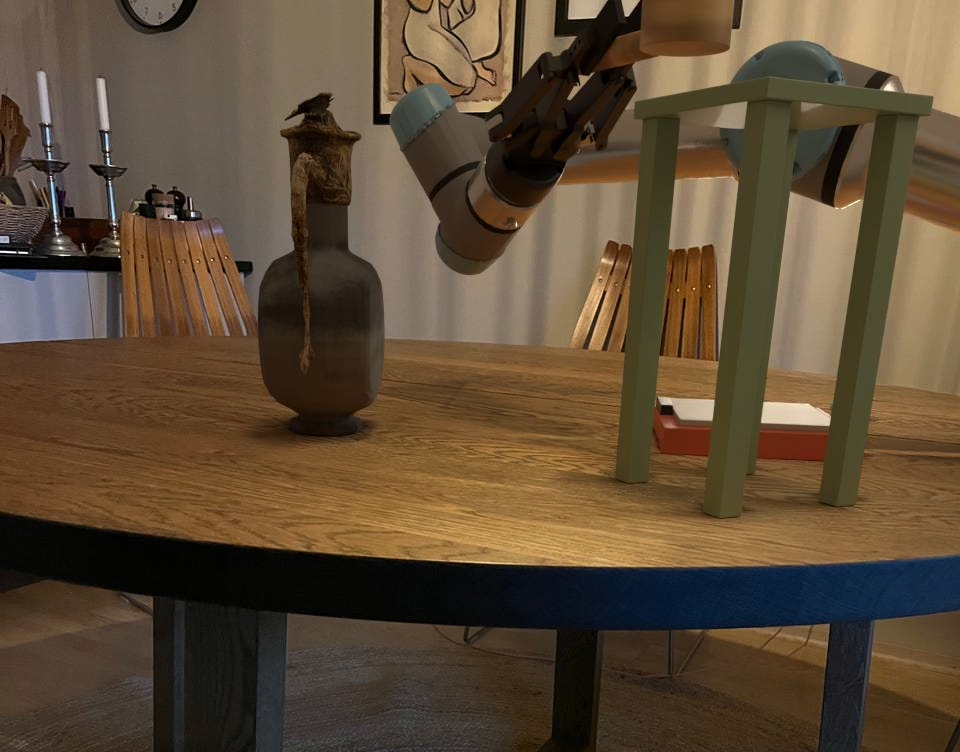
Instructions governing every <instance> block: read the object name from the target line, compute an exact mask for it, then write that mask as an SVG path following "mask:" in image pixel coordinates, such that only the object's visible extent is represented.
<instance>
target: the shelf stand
mask: <svg viewBox="0 0 960 752" xmlns="http://www.w3.org/2000/svg"><path fill="white" fill-rule="evenodd" d="M904 92H905V91H904ZM904 92H895V91H887V90H879V89H870V88H862V87H854V86H845V85H837V84H829V83H820V82H812V81H803V80H795V79H787V78H778V77H770V76H768V77H763V78H758V79H752V80H747V81H742V82H736V83H731V84H730V83H726V84H721V85H720V84H719V85H715V86H710V87H705V88H700V89H694V90H688V91H684V92H678V93H677V92H676V93H672V94H667V95H661V96H656V97H651V98H646V99H639V100H635V101H634V107H633V109H634V119H636V120H643V124H642V137H641V150H640V163H639V176H638V181H637V192H636V203H635V217H634V229H633V241H632V254H631V266H630V267H631V269H630V281H629V283H630V284H629V292H628V293H629V295H628V306H627V308H628V309H627V319H626V330H625V331H626V332H625V345H624V359H623V372H622V382H621V383H622V384H621V394H620V395H621V397H620V410H619V423H618V436H617V448H616V459H615V460H616V462H615V473H614V478H615V479H616V480H619V481H621V482H622V483H623V482H624V483H626V484H636V483H637V484H639V483H648V482H649V476H650V475H649V474H650V464H651V454H652V453H651V452H652V442H653V430H654V428H653V420H654V409H655V401H656V398H657V385H658V376H659V375H658V373H659V364H660V363H659V362H660V353H661V352H660V351H661V341H662V340H661V339H662V331H663V330H662V329H663V319H664V309H665V308H664V307H665V297H666V284H667V273H668V263H669V262H668V261H669V252H670V251H669V250H670V239H671V229H672V217H673V205H674V195H675V194H674V193H675V184H676V180H675V174H676V162H677V151H678V140H679V129H680V124H690V125H701V126H712V127H723V128H734V129H744V136H743V145H742V154H741V164H740V173H739V182H738V183H737V192H736V199H735V200H736V201H735V208H734V218H733V220H734V221H733V226H732V227H733V228H732V238H731V247H730V256H729V264H728V274H727V282H726V284H727V285H726V290H725V291H726V292H725V303H724V311H723V318H722V319H723V320H722V328H721V338H720V347H719V355H718V356H719V357H718V366H717V372H716V373H717V374H716V383H715V394H714V400H715V401H714V410H713V419H712V428H711V437H710V446H709V455H707V465H706V475H705V484H704V485H705V486H704V492H703V493H704V494H703V503H702V510H701V511H702V513H704V514H707V515H710V516H711V517H715V518H717V519H725V518H735V517H742V509H743V503H744V493H745V486H746V478H747V475H754V474H756V473H755V472H756V465H757V450H758V442H759V434H760V427H761V419H762V411H763V403H764V402H765V393H766V385H767V378H768V372H769V371H768V369H769V364H770V363H769V362H770V356H771V349H772V348H771V346H772V339H773V331H774V324H775V317H776V316H775V315H776V307H777V299H778V292H779V283H780V276H781V275H780V274H781V267H782V261H783V254H784V253H783V252H784V246H785V245H784V243H785V237H786V236H785V235H786V230H787V229H786V227H787V219H788V213H789V206H790V205H789V204H790V197H791V192H790V189H791V182H792V174H793V166H794V158H795V150H796V142H797V134H798V131H803V130H811V129H820V128H829V127H837V126H846V125H855V124H863V123H872V122H875V127H874V134H873V140H872V147H871V154H870V160H869V167H868V173H867V180H866V187H865V193H864V200H862V206H861V207H862V208H861V212H860V213H861V214H860V222H859V226H858V234H857V239H856V241H857V242H856V248H855V254H854V260H853V261H854V262H853V268H852V274H851V275H852V276H851V280H850V286H849V287H850V288H849V295H848V301H847V306H846V314H845V320H844V327H843V333H842V341H841V347H840V352H839V353H840V354H839V361H838V368H837V374H836V380H835V387H834V392H833V393H834V394H833V400H832V403H833V406H832V413H831V412H830V414H831V420H830V426H829V433H828V440H827V446H826V453H825V459H824V461H823V468H822V473H821V480H820V486H819V493H818V500H817V501H818V502H819V503H824V504H827V505H830V506H833V507H836V508H837V507H848V506H856V505H857V500H858V493H859V487H860V481H861V475H862V469H863V463H864V457H865V450H866V444H867V439H868V432H869V427H870V421H871V414H872V408H873V403H874V396H875V389H876V384H877V377H878V371H879V365H880V358H881V352H882V346H883V340H884V334H885V328H886V322H887V317H888V316H887V315H888V310H889V305H890V304H889V303H890V297H891V291H892V286H893V285H892V284H893V279H894V273H895V267H896V262H897V254H898V250H899V249H898V248H899V243H900V237H901V232H902V224H903V219H904V207H905V201H906V195H907V189H908V182H909V176H910V170H911V164H912V158H913V152H914V146H915V140H916V134H917V128H918V121H919V117H924V116H930V115H931V110H932V108H933V105H934V104H933V103H934V95H929V94H920V93H912V92H911V93H910V92H905V93H904Z"/></svg>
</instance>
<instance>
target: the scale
mask: <svg viewBox="0 0 960 752" xmlns="http://www.w3.org/2000/svg"><path fill="white" fill-rule="evenodd" d="M714 401H715V399H706V398H682V397H681V398H678V397H668V396H656V398H655V409H654V420H653V430H654V433H655V435H656V437H657V438H656V439H655V440H656V442H657V444H658V446H659V449H660V451H661V453H662V454H668V455H687V456H688V455H691V456H708V455H709V446H710V437H711V428H712V419H713V410H714ZM830 420H831V416H830V415H829V414H828V413H827V412H826V411H824V410H822V409H821V408H819V407H813V406H812V405H811V404H810V403H802V402H800V403H798V402H780V401H779V402H776V401H764V403H763V411H762V419H761V427H760V434H759V442H758V450H757V458H758V459H777V460H779V459H780V460H799V461H800V460H801V461H820V462H821V461H823V462H824V459H825V453H826V446H827V440H828V433H829V426H830ZM757 458H756V459H757Z"/></svg>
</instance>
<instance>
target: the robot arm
mask: <svg viewBox="0 0 960 752" xmlns="http://www.w3.org/2000/svg"><path fill="white" fill-rule="evenodd" d="M642 1H643V0H638V2H637V3H636V5H635V6H634V8H633V9H632V11H630V13H629V14H628V16H627V17H626V14H625V10H624V9H625V8H624V4H623V1H622V0H607V1H606V2H605V3H604V5H603V6H602V7H601V9H600V11H599V12H598V13H597V15H596V17H595V19H593V21H592V23H591V24H590V25H589V27H583V28H582V29H581V30H580V31H579V32H578V33H577V35H576V36H575V38H574V39H573V41H572V43H571V44H570V45H569V47H568V48H566V49H564V50H563V51H561V53H560V54H559V55H553V52H552V51H545V52H542V53H541V54H540V55H539V56H538V57H537V59H536V60H535V61H534V62H533V64H532V65H531V66H530V67H529V69H528V70H527V71H526V72H525V73H524V74H523V75H522V77H521V78H520V80H519V81H518V82H517V83H516V84H515V86H513V88H512V89H511V91H510V92H509V93H508V94H507V95H506V96H505V98H504V99H503V100H502V101H501V103H499V104H498V105H497V106H495V107H493V109H491V110H489V111H488V112H487V113H485V114H484V118H483V117H479V116H476V115H472V114H467V113H463V112H460V111H459V110H458V107H457V106H456V101H455V99H453V98H452V97H451V96H450V94H449V92H448V90H447V88H446V87H444V85H442V84H440V83H437V82H428V83H425V84H421V85H418V86H417V87H415V88H413V89H411V90H410V91H408V92H406V94H404V95H403V96H402V97H401V98H400V99H399V100H398V101H397V102H396V103H395V105H394V106H393V108H392V110H391V112H390V114H389V115H390V116H389V127H390V128H391V131H392V133H393V135H394V137H395V139H396V142H397V144H398V146H399V150H400V152H401V153H402V154H403V156H404V158H405V159H406V161H407V163H408V165H409V166H410V168H411V170H412V172H413V174H414V176H415V177H416V179H417V181H418V182H419V184H420V186H421V188H422V190H423V192H424V193H425V195H426V197H427V199H428V200H429V202H430V205H431V208H432V209H433V211H434V213H435V215H436V216H437V218H438V220H439V223H438V225H437V227H436V232H435V235H434V243H435V250H436V253H437V255H438V257H439V258H440V260H441V261H442V263H443V264H444V265H445V266H446V267H447V268H449V269H450V270H452V271H453V272H454V273H457V274H460V275H464V276H476V275H480V274H482V273H483V272H485V271H487V270H488V269H489V268H490V267H491V266H492V265H493V264H495V262H496V261H497V260H498V259H500V258H501V257H502V256H503V255H504V253H505V251H506V250H507V247H508V246H509V245H510V243H511V242H512V240H513V239H514V238H515V236H516V235H517V234H518V233H519V232H520V230H521V229H522V228H523V226H524V225H525V224H526V223H527V221H528V220H529V219H530V218H531V217H532V215H533V214H534V213H535V211H536V210H537V209H538V208H539V207H540V205H541V203H542V202H543V201H544V200H545V199H546V198H547V197H548V195H549V194H550V193H551V192H552V190H553V189H554V188H555V187H556V186H572V185H592V184H593V185H594V184H613V183H614V184H615V183H636V182H637V183H638V176H639V163H640V150H641V137H642V124H643V120H636V119H634V108H632V109H631V108H630V109H626V108H627V107H628V105H629V104H630V102H631V100H632V99H633V97H634V96H635V94H636V93H637V91H638V85H637V81H636V76H635V71H634V69H633V68H634V67H633V66H634V65H635V63H636V62H634V63H630V64H626V65H622V66H618V67H614V68H610V69H606V70H602V71H598V72H594V73H592V71H593V70H594V69H595V67H596V66H597V64H598V63H599V62H600V60H601V59H602V58H603V56H604V55H605V53H606V52H607V50H608V49H609V47H610V46H611V45H612V44H613V42H614V41H615V39H616V38H617V37H619V36H622V35H625V34H629V33H632V32H636V31H639V30H641V16H642ZM579 70H581V75H578V72H579ZM591 74H592V75H591ZM580 76H584V77H589V78H588V79H587V81H585V83H584V84H583V85H582V86H581V80H580ZM768 76H770V77H778V78H787V79H795V80H803V81H812V82H820V83H829V84H837V85H845V86H854V87H862V88H870V89H879V90H887V91H895V92H904V93H906V91H905V89H904V87H903V84H902V81H901V78H900V76H898V75H895V74H893V73H890V72H886V71H883V70H880V69H877V68H874V67H871V66H868V65H864V64H861V63H857V62H855V61H852V60H849V59H845V58H842V57H839V56H836V55H834V54H833V53H832V52H831V51H829V49H826V47H824V46H823V45H821V44H819V43H816V42H814V41H813V42H812V41H809V40H801V39H800V40H785V41H784V40H783V41H780V42H779V41H778V42H775V43H773V44H770V45H768V46H766V47H764V48H763V49H761V50H759V51H757V52H756V53H754V55H752V56H750V58H748V59H747V60H746V61H745V62H744V63H743V64H742V65H741V66H740V67H739V69H738V70H737V71H736V72H735V74H734V76H733V77H732V79H731V81H730V83H729V84H731V83H736V82H742V81H747V80H752V79H758V78H763V77H768ZM574 87H580V88H579V89H578V91H577V92H576V93H575V94H574V95H573V96H572V98H570V99H569V97H570V95H571V93H572V91H573V89H574ZM874 127H875V122H872V123H863V124H855V125H846V126H837V127H829V128H820V129H811V130H803V131H798V134H797V142H796V150H795V158H794V166H793V174H792V182H791V189H790V193H791V194H794V195H798V196H801V197H803V198H806V199H809V200H811V201H814V202H817V203H820V204H823V205H825V206H828V207H831V208H834V209H836V210H843V209H845V208H847V207H850V206H851V205H854V204H856V203H858V202H860V201H863V200H864V193H865V187H866V180H867V173H868V167H869V160H870V154H871V147H872V140H873V134H874ZM743 136H744V129H734V128H723V127H712V126H701V125H690V124H680V129H679V140H678V151H677V162H676V174H675V181H676V180H679V181H680V180H698V179H700V180H701V179H719V178H733V180H734V181H735V182H736V183H737V184H738V182H739V173H740V164H741V154H742V145H743ZM903 215H907V216H910V217H911V218H912V217H913V218H914V219H918V220H921V221H923V222H926V223H930V224H932V225H935V226H938V227H940V228H943V229H946V230H949V231H952V232H955V233H957V234H960V116H958V115H955V114H952V113H948V112H945V111H944V110H943V111H942V110H939V109H936V108H933V107H932V110H931V115H930V116H924V117H919V121H918V128H917V134H916V140H915V146H914V152H913V158H912V164H911V170H910V176H909V182H908V189H907V195H906V201H905V207H904V213H903Z"/></svg>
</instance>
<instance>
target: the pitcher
mask: <svg viewBox="0 0 960 752" xmlns="http://www.w3.org/2000/svg"><path fill="white" fill-rule="evenodd" d="M333 95H334V94H333V93H332V92H331V91H329V92H326V91H325V92H324V91H323V92H319V93H318V94H317V95H315V96H313V97H311V98H307V99H305V100H304V101H301V102H300V103H299V104H298V105H297V108H294V109H293V110H292V112H291V113H290V114H289V115H287V116H286V117H285V118H284V121H285V122H286V121H289V120H290V119H293V118H295V117H296V116H299V115H303V116H304V117H303V118H302V119H301V121H300V122H299V124H295V125H294V126H290V127H286V128H282V129H280V130H279V135H280V137H282V138H285V139H286V140H287V146H288V155H289V156H288V157H289V182H290V183H289V184H290V185H289V187H290V214H291V231H290V232H291V233H290V234H291V235H290V236H291V239H292V241H293V247H294V248H293V250H291V251H290V252H288V253H286V254H284V255H282V256H280V257H278V258H275V259H274V260H273V261H271V262H270V264H269V266H268V268H267V269H266V270H265V272H264V274H263V277H262V280H261V281H260V284H259V287H258V299H257V300H258V301H257V339H258V340H257V343H258V356H259V363H260V370H261V371H260V372H261V377H262V382H263V384H264V386H265V388H266V390H267V391H268V393H269V395H270V396H271V397H272V398H273V399H274V401H276V402H277V403H278V404H280V405H282V406H283V407H286V408H288V409H289V410H292V412H294V413H296V414H297V415H296V416H293V417H292V418H291V419H290V421H289V428H290V430H291V431H293V432H295V433H296V434H301V435H306V436H319V437H332V436H333V437H335V436H346V435H351V434H356V433H358V432H359V431H361V430H362V429H363V420H362V418H360V417H359V416H356V413H357V412H359V411H361V410H363V409H365V408H368V407H370V406H372V404H373V403H374V402H375V400H376V398H377V396H378V394H379V392H380V390H381V386H382V382H383V375H384V363H385V361H384V360H385V337H386V335H385V332H386V331H385V330H386V329H385V305H384V304H385V302H384V291H383V285H382V280H381V278H380V276H379V274H378V271H377V270H376V268H375V267H374V266H373V264H372V263H371V262H369V261H368V260H366V259H364V258H363V257H360V256H359V255H356V254H355V253H354V252H352V251H351V250H350V248H349V206H351V202H352V194H353V179H352V178H353V177H352V155H353V149H354V146H355V144H356V143H357V142H359V141H361V140H362V139H363V137H362V134H361V133H359V132H357V131H355V130H354V131H353V130H343V129H342V128H341V127H340V126H339V124H338V122H337V121H336V119H335V116H334V113H333V112H332V111H331V110H329V109H328V108H329V107H330V106H331V104H330V103H331V102H332V101H334V100H335V99H336V97H333V98H332V96H333Z"/></svg>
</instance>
